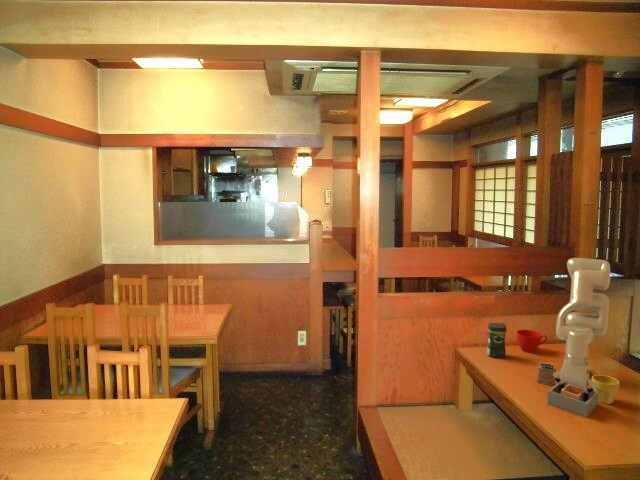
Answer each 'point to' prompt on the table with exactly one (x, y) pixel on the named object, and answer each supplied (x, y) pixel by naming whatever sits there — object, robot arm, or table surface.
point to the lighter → (546, 373)
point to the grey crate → (572, 402)
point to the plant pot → (606, 388)
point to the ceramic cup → (529, 340)
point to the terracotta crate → (573, 392)
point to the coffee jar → (496, 340)
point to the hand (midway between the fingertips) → (573, 397)
